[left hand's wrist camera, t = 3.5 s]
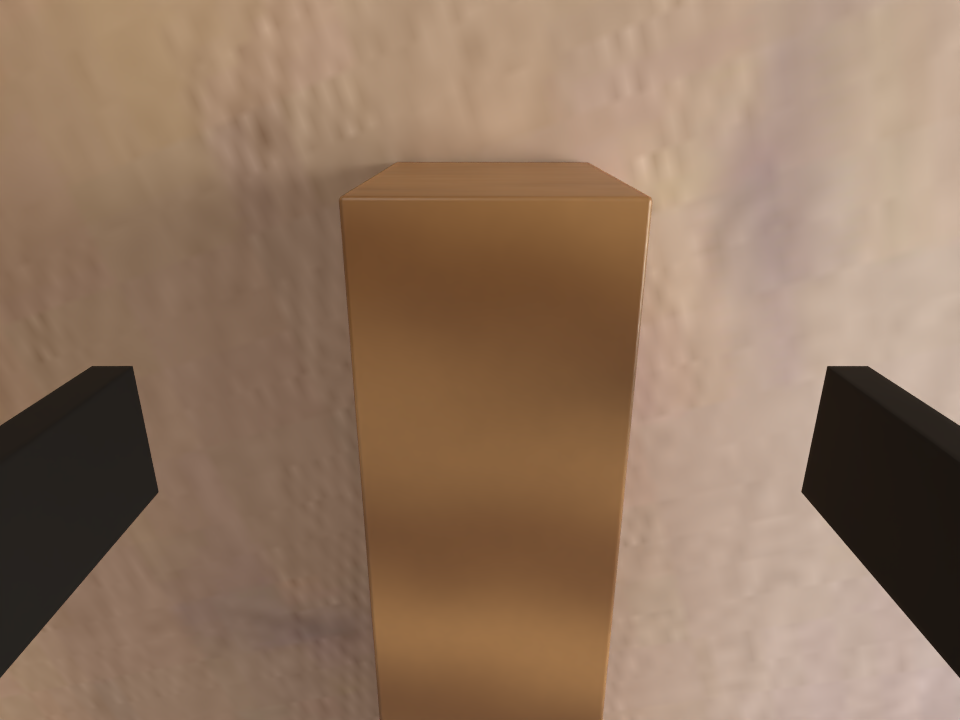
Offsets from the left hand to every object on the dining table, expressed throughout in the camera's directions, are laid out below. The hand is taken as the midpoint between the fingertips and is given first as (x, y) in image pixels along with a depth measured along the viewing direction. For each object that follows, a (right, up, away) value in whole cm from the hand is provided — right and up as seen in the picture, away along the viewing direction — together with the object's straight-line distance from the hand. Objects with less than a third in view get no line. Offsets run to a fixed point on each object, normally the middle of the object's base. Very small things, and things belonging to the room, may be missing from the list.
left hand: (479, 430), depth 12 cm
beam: (0, -24, +19) cm, 31 cm away
